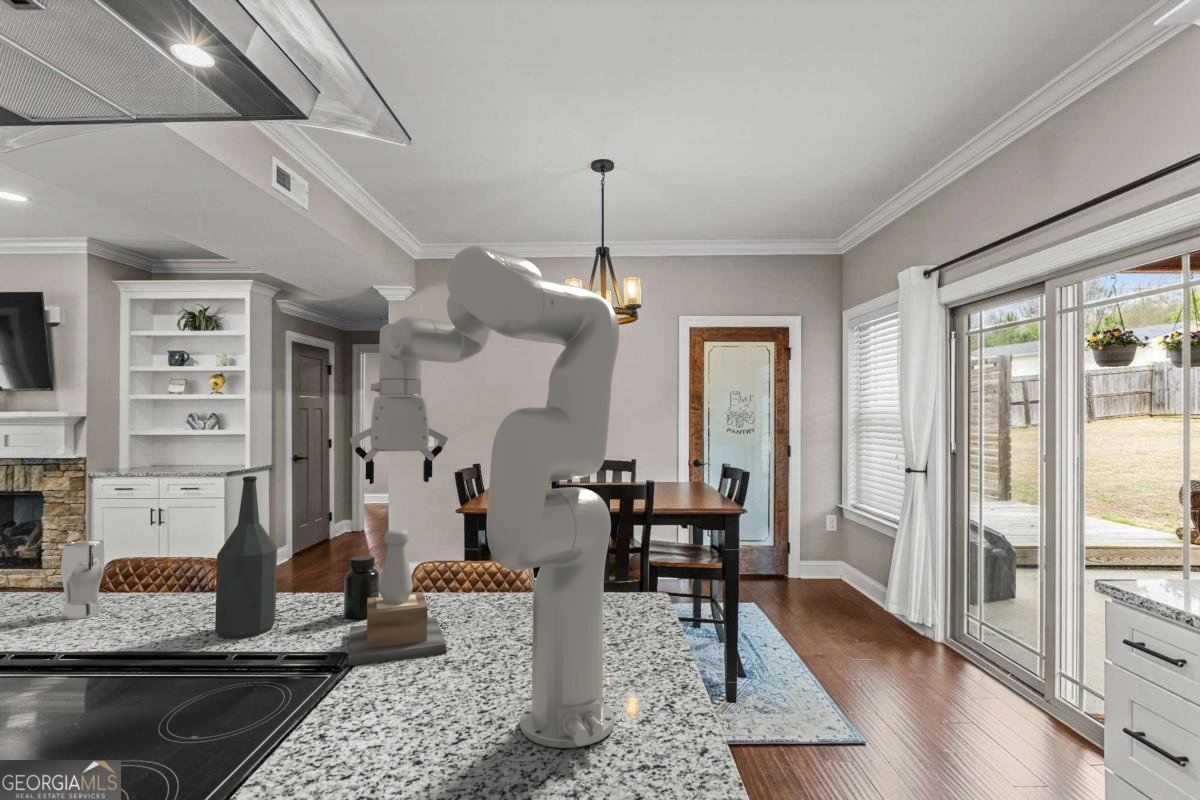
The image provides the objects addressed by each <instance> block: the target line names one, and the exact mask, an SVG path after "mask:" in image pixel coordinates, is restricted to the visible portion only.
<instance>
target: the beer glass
mask: <svg viewBox="0 0 1200 800" xmlns="http://www.w3.org/2000/svg"><path fill="white" fill-rule="evenodd" d="M62 546H63V547H62V551H61V552H62V553H61V561H60V573H61V575H60V576H61V580H62V585H63V586H62V587H63V592H64V607H63V610H62V614H61V618H62V619H63V620H79V619H84V618H85V619H86V618H90V617H93V616H96V615H98V614H100V612H101V608H100V604H99V591H100V590H99V589H100V586H101V583H102V578H103V574H104V568H105V546H104V540H100V539H99V540H98V539H95V540H93V539H92V540H80V541H74V542H73V541H72V542H68V543H67V542H66V543H65V544H63V545H62Z"/></svg>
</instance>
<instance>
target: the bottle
mask: <svg viewBox="0 0 1200 800" xmlns="http://www.w3.org/2000/svg"><path fill="white" fill-rule="evenodd" d="M257 480H258V478H257V476H253V475H248V476H243V478H242V481H243V484H242V493H241V498H240V506H239V513H238V514H239V515H238V520H237V525H236V526H235V528H234V529H233V530H232V532H231V534H230V536H229V537H228V538H227V539H226V541H225V543H224V544H223V545H222V547H221V548H220V550H219V552H217V555H216V582H215V583H216V586H215V588H216V589H215V590H216V591H215V617H214V619H215V620H214V621H215V623H214V626H215V627H214V632H215V634H216V635H217V636H218V637H220V638H223V639H233V640H234V639H235V640H237V639H244V638H250V637H254V636H259V635H262V634H264V633H266V632H269V631H271V630H272V628H274V627H273V626H274V625H275V622H276V614H277V613H276V611H277V610H276V608H277V607H276V606H277V567H278V566H277V565H278V562H277V561H278V547H277V546H276V544H275V543H274V541H273V540H272V538H271V537H270V535H269V534H268V532H267V531H266V529H264V527H263V525H262V524H261V523H260V515H259V503H258V492H257Z"/></svg>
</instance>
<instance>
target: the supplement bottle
mask: <svg viewBox="0 0 1200 800" xmlns="http://www.w3.org/2000/svg"><path fill="white" fill-rule="evenodd" d="M375 566H376V563H375V556H372V555H358V556H355V557H350V560H349V569H350V570H349V571H347V573H346V574H345V575H344V587H343V588H344V589H343V591H344V592H343V594H344V596H343V616H344V617H345V619H346V620H349V621H362V620H367V601H368V598H370V597H380V591H379V589H380V573H379V570H377V569H376V568H374V567H375Z"/></svg>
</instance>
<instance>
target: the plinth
mask: <svg viewBox="0 0 1200 800" xmlns="http://www.w3.org/2000/svg"><path fill="white" fill-rule="evenodd" d="M348 639H349V640H348V650H347V651H348V654H347V666H348V665H349V666H350V667H351V666H356V665H363V664H364V665H365V664H372V663H380V662H381V663H382V662H388V661H396V660H402V659H410V658H412V659H413V658H417V657H426V656H434V655H441V654H446V653H447V643H446V641H445V640H446V639H445V637H444V635H443V632H442V630H441V627H440V624H439V621H438V619H437V617H428V605H427V601H426V599H425V596H424V593H423V592H416V593H415V592H414V593H411V594H410V596H409V598H408V600H407V601H406V602H405V603H402V604H396V605H391V604H385V602H384V600H383V598H382V596H379V597H370V598H368V601H367V619H366V624H365V625H354V626H349V637H348ZM349 666H348V667H349Z"/></svg>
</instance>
